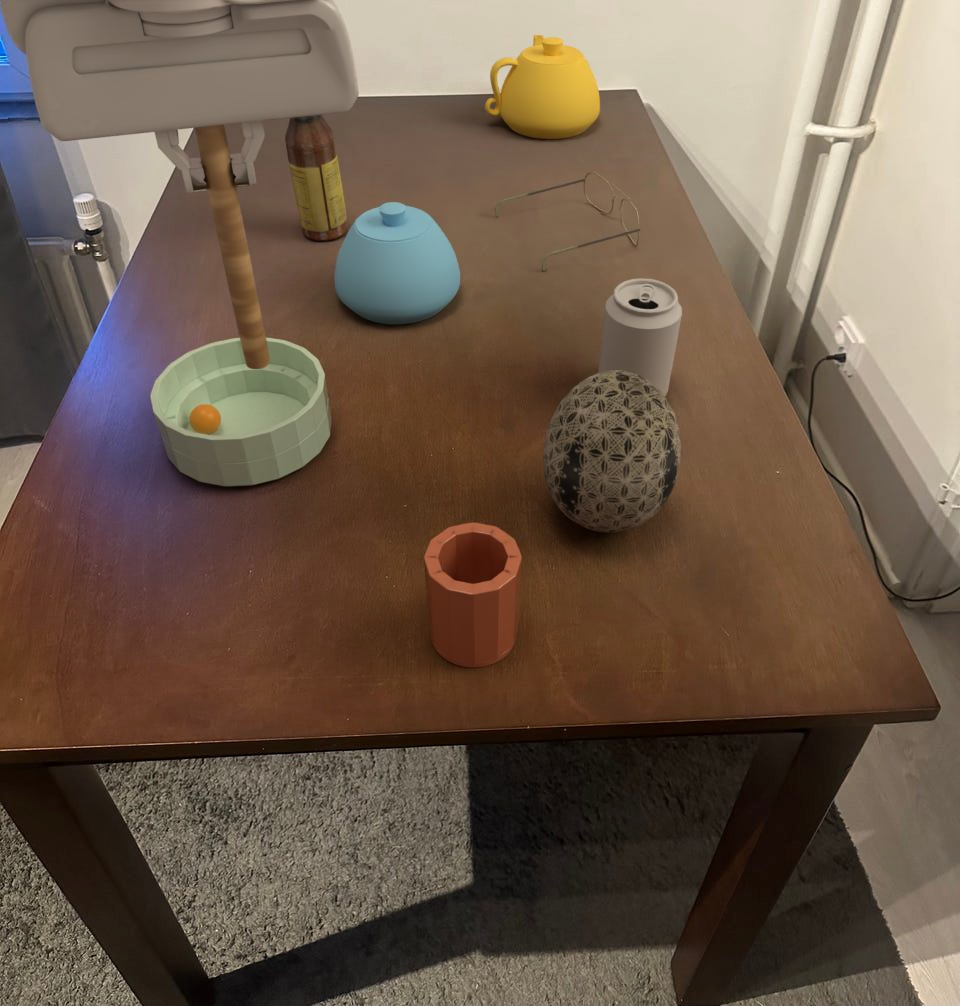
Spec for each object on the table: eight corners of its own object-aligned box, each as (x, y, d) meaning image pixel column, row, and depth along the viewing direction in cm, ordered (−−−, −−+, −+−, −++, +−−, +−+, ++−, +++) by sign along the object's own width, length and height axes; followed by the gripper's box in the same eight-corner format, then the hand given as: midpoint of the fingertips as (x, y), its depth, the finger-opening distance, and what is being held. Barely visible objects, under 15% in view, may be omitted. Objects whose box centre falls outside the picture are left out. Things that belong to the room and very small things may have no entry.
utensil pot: (419, 657, 70) (413, 582, 64) (444, 591, 75) (440, 515, 69) (505, 676, 69) (508, 601, 62) (525, 607, 74) (529, 532, 67)
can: (589, 406, 93) (600, 306, 84) (603, 366, 98) (615, 268, 90) (661, 419, 91) (679, 319, 83) (671, 378, 96) (689, 279, 88)
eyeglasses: (646, 250, 117) (651, 214, 113) (542, 272, 113) (544, 235, 109) (591, 199, 127) (594, 164, 124) (494, 217, 123) (494, 182, 120)
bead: (200, 440, 89) (177, 422, 87) (216, 416, 90) (194, 398, 88) (216, 441, 87) (193, 422, 85) (232, 416, 88) (210, 397, 86)
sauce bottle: (341, 218, 123) (323, 66, 109) (353, 238, 119) (336, 83, 105) (294, 226, 121) (270, 73, 108) (305, 247, 117) (281, 90, 103)
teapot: (609, 139, 142) (617, 54, 133) (492, 146, 140) (493, 60, 132) (581, 94, 156) (587, 14, 148) (475, 100, 155) (475, 19, 146)
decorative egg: (513, 519, 81) (518, 385, 71) (588, 454, 87) (603, 323, 77) (620, 582, 76) (642, 448, 65) (692, 509, 82) (723, 376, 71)
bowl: (136, 475, 85) (117, 423, 81) (214, 378, 97) (201, 327, 92) (293, 505, 82) (282, 452, 78) (355, 401, 94) (348, 349, 89)
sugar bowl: (313, 313, 106) (299, 221, 98) (376, 255, 116) (368, 168, 108) (425, 343, 101) (420, 250, 93) (480, 281, 111) (480, 191, 103)
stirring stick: (241, 367, 73) (185, 117, 59) (251, 353, 74) (199, 106, 60) (264, 371, 72) (213, 120, 58) (274, 357, 74) (226, 109, 60)
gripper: (-18, -12, 49) (64, 224, 58) (351, -38, 53) (371, 187, 62) (-6, -40, 53) (68, 184, 63) (334, -62, 57) (355, 152, 67)
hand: (221, 185), depth 63 cm, fingers closed on stirring stick, 2 cm apart
